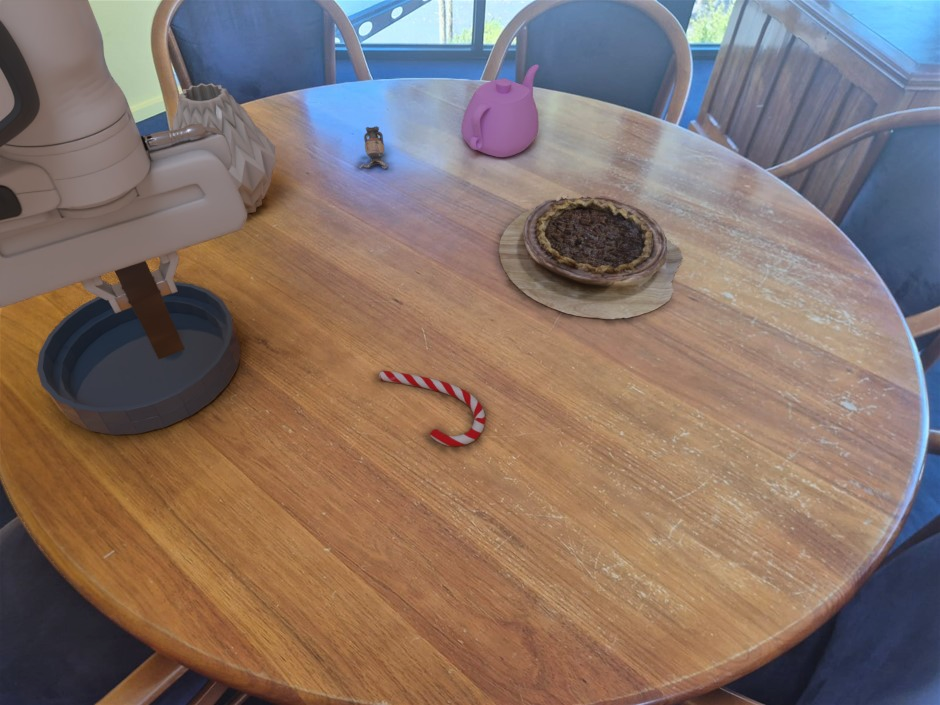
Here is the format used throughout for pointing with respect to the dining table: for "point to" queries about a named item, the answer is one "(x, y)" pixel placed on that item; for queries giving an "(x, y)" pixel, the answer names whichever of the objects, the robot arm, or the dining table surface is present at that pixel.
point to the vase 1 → (231, 138)
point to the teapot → (502, 117)
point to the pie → (590, 257)
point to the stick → (150, 309)
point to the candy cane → (450, 390)
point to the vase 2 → (374, 147)
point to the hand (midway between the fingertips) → (145, 298)
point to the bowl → (138, 363)
